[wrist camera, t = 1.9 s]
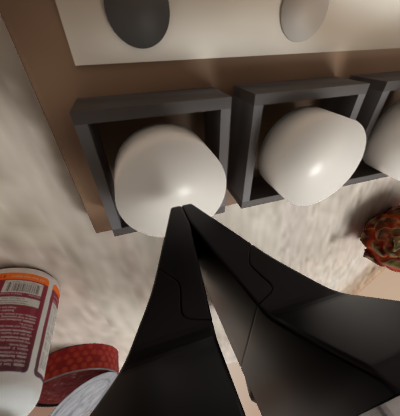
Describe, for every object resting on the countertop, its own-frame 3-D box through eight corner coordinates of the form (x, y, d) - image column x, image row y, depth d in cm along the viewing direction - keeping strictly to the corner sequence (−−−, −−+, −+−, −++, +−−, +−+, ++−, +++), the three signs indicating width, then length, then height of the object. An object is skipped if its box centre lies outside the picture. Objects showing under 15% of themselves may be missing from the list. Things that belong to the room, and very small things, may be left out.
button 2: (209, 200, 14) (223, 225, 12) (126, 216, 13) (129, 247, 11) (209, 116, 11) (229, 133, 9) (101, 129, 10) (98, 151, 8)
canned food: (66, 310, 30) (75, 367, 21) (125, 331, 35) (149, 383, 27) (0, 393, 27) (-18, 493, 19) (75, 402, 33) (85, 482, 24)
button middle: (316, 178, 16) (343, 197, 14) (252, 191, 15) (272, 213, 13) (344, 101, 13) (383, 113, 11) (265, 110, 11) (293, 124, 10)
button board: (368, 162, 23) (413, 184, 19) (97, 215, 17) (94, 260, 13) (469, -43, 14) (584, -67, 10) (-20, -77, 8) (-113, -155, 5)
